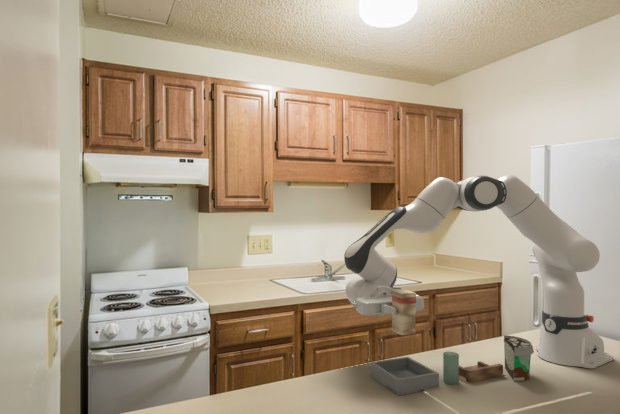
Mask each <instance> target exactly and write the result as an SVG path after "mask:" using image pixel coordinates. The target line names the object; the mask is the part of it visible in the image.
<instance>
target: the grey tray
mask: <svg viewBox="0 0 620 414" xmlns="http://www.w3.org/2000/svg"><path fill="white" fill-rule="evenodd" d="M439 376H440V373H439V372H437V371H436V370H434V369H433V368H432V369H431V368H430V367H428V366H427V365H424V364H423V363H420V362H419V361H417V360H415V359H413V358H412V357H410V356H403V357H397V358H396V357H395V358H391V359H384V360H377V361H371V362H370V377H371V378H373V379H374V380H376V381H377V382H379V384H381V385H383V386H384V387H386V388H387V389H388V390H390V391H391V392H392V393H394V394H396V395H397V397H398V396H403V395H408V394H414V393H418V392H424V391H425V390H424V389H429V388H434V387H438V386H440V384H439V383H440V377H439Z"/></svg>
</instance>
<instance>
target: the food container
mask: <svg viewBox="0 0 620 414" xmlns="http://www.w3.org/2000/svg"><path fill="white" fill-rule="evenodd" d="M503 343H504V346H503V347H504V349H503V350H504V369H505V370H506V372H507V374H508V375H509V376H510V378H511V379H512V380H513V382H516V383H517V382H525V381H528V380H529V379H530V370H531V369H530V368H531V356H532V355H533V354H534V353H535V352H534V351H535V350H534V347H533V344H532V342H531V341H530V340H528V339H526V338H522V337H520V336H519V337H518V336H514V335H503Z"/></svg>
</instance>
